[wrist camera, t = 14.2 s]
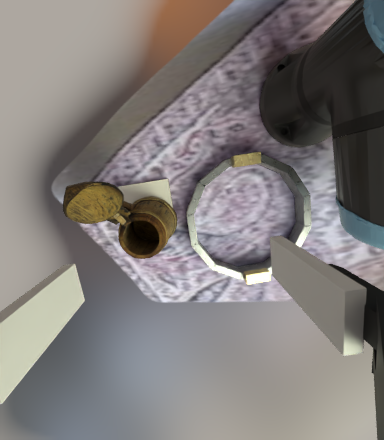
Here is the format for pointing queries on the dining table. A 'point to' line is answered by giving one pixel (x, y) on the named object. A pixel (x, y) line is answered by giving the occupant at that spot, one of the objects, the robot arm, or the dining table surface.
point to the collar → (297, 235)
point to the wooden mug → (123, 216)
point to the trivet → (147, 191)
